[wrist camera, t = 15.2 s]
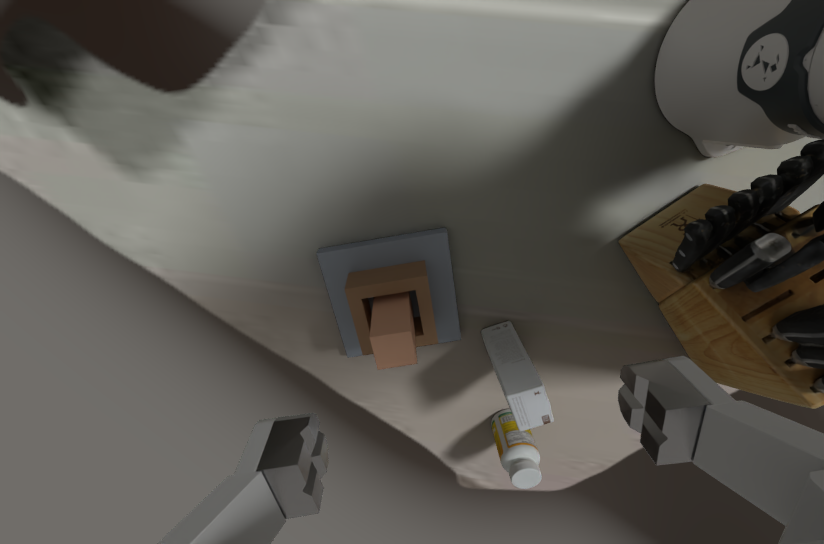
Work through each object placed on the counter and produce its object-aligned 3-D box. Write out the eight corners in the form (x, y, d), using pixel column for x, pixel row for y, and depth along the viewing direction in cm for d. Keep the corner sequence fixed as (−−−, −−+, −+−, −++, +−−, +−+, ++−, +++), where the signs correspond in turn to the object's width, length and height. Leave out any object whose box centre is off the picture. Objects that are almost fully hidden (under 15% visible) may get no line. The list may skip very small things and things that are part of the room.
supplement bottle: (507, 402, 56) (527, 459, 48) (532, 417, 58) (556, 475, 49) (482, 423, 58) (497, 482, 50) (508, 438, 60) (527, 497, 51)
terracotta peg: (407, 282, 45) (410, 330, 36) (413, 310, 47) (417, 363, 38) (374, 287, 45) (369, 337, 36) (381, 315, 47) (377, 369, 38)
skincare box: (479, 329, 50) (501, 396, 40) (511, 318, 50) (544, 383, 39) (491, 363, 53) (516, 434, 42) (522, 353, 52) (556, 423, 42)
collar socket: (445, 227, 44) (451, 245, 39) (459, 333, 51) (466, 359, 46) (318, 248, 45) (309, 268, 40) (348, 350, 51) (343, 378, 46)
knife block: (673, 106, 39) (1347, 156, 11) (771, 324, 52) (1203, 598, 24) (577, 176, 42) (930, 352, 14) (692, 367, 55) (997, 655, 27)
